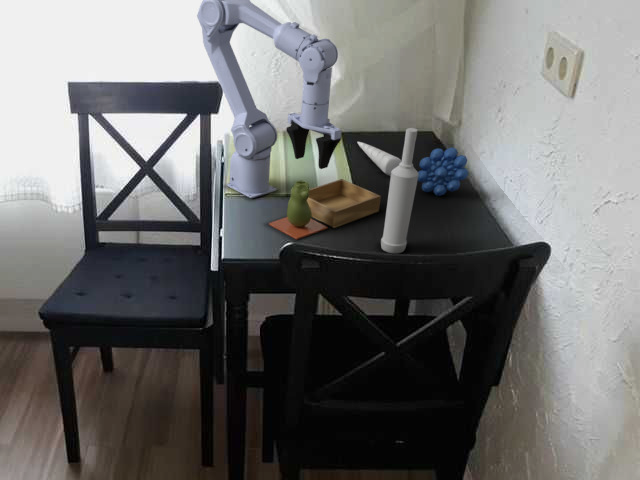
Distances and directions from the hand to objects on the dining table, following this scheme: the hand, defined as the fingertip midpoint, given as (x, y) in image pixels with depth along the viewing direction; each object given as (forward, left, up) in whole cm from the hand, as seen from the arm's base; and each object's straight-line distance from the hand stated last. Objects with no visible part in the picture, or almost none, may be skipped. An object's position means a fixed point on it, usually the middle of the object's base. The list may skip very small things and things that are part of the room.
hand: (311, 162), depth 166 cm
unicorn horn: (-10, +33, -11) cm, 37 cm away
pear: (+7, -9, -10) cm, 15 cm away
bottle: (+26, 0, -11) cm, 28 cm away
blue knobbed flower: (+14, +30, -11) cm, 34 cm away
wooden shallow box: (+6, +4, -10) cm, 12 cm away
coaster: (+7, -9, -10) cm, 15 cm away
